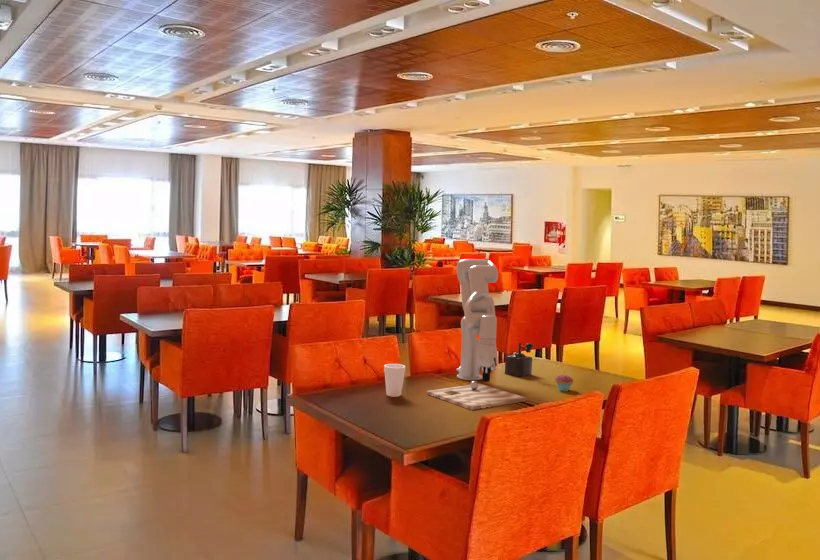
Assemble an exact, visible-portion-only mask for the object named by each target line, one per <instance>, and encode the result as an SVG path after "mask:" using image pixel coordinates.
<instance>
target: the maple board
mask: <svg viewBox="0 0 820 560" xmlns="http://www.w3.org/2000/svg"><path fill="white" fill-rule="evenodd" d="M478 385H479V386H478V388H477V389H476V390H473V389H471V388H470V384H465V385H460V386H459V385H458V386H454V387H446V388H438V389H433V390H432V389H429V390H426V395H428V396H430V395H431V397H433V396H434V398H436V397H437V398H436V399H439V398H440V399H439V400H443V401H445V402H448V403H450V404H452V405H453V404H454V405H456V406H459V407H463V408H465V409H467V410H471V411H475V409H476V410H480V408H482V409H486V407H488V408H492V407H491V406H493V407H498V406H503V405H510V404H516V403H517V404H518V403H521V402H526V401H527V397H526V396H522V395H519V394H516V393H513V392H509V391H507V390H506V391H505V390H502V389H498V388H496V387H492V386H489V385H486V384H482V383H479V382H478Z"/></svg>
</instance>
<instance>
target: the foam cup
mask: <svg viewBox="0 0 820 560" xmlns="http://www.w3.org/2000/svg"><path fill="white" fill-rule="evenodd" d="M406 369H407V368H406V365H405V364H401V363H387V364H384V365H383V371H384V381H385V392H386V393H385V394H386V396H388V397H393V398H395V397H396V398H397V397H401V395H402V390H403V386H404V378H405V373H406Z"/></svg>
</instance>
